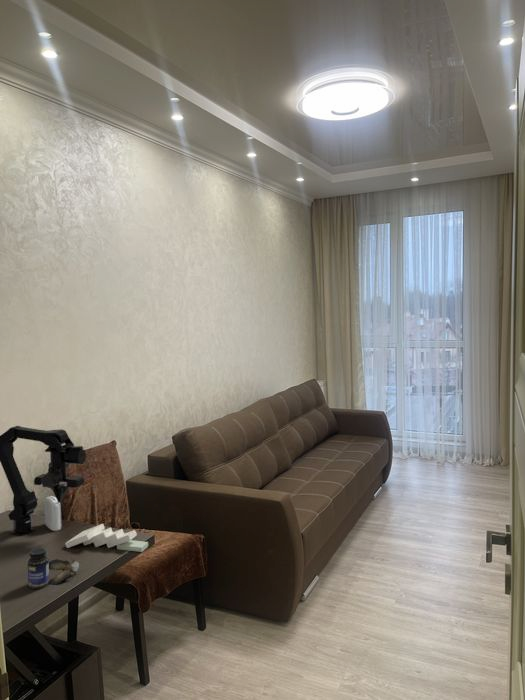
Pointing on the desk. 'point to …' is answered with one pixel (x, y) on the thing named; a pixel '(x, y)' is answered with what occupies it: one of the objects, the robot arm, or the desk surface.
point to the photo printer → (52, 513)
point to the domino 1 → (85, 535)
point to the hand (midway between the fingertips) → (59, 502)
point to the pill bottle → (38, 569)
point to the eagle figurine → (63, 566)
